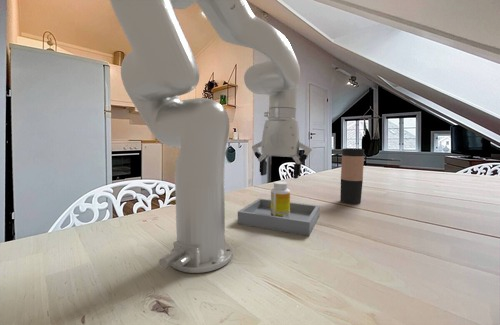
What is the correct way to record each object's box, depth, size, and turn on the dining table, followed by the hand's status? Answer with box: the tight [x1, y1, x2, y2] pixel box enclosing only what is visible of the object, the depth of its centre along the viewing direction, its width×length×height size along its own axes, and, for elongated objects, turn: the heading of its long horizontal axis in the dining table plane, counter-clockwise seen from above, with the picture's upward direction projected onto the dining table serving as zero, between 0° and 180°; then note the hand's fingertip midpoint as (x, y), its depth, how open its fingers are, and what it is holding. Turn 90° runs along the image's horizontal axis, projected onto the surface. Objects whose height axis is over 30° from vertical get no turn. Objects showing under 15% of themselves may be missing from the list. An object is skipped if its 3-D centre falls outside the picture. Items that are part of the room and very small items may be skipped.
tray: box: [237, 198, 321, 237], centre depth 72 cm, size 16×20×4 cm
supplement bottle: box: [270, 180, 291, 218], centre depth 71 cm, size 6×6×10 cm
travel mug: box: [339, 147, 365, 205], centre depth 92 cm, size 8×8×20 cm
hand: (279, 176), depth 70 cm, fingers open, 9 cm apart
